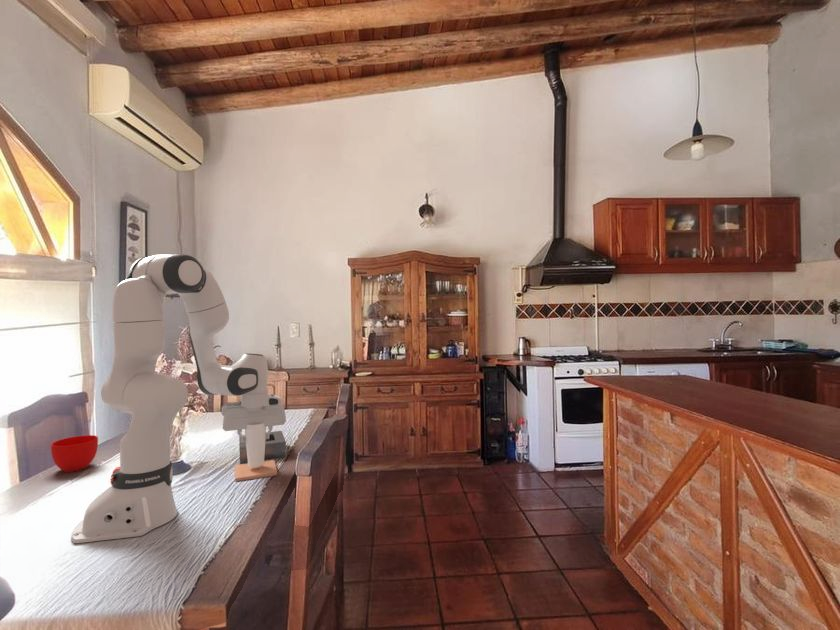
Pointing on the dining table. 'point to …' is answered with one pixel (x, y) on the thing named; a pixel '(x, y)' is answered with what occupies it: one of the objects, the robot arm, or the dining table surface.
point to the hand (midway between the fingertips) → (255, 440)
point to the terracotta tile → (255, 471)
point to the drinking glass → (255, 444)
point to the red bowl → (74, 452)
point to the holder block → (267, 447)
